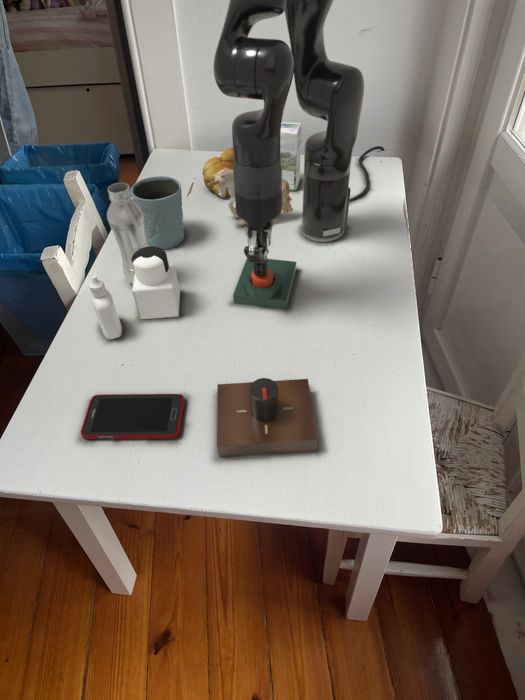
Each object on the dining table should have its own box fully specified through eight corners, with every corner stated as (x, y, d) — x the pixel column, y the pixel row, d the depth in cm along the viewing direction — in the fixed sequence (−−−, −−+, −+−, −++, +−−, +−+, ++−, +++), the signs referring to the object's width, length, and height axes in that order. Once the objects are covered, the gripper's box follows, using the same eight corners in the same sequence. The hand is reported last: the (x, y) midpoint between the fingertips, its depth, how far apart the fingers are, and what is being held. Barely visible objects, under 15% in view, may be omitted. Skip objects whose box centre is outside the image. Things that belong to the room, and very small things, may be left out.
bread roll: (239, 200, 117) (237, 168, 111) (199, 200, 118) (195, 169, 112) (243, 174, 126) (241, 144, 120) (206, 174, 126) (202, 144, 120)
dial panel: (307, 390, 77) (308, 377, 75) (316, 450, 69) (317, 438, 67) (219, 396, 77) (217, 383, 74) (218, 457, 69) (216, 445, 67)
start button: (254, 273, 92) (253, 266, 90) (275, 276, 91) (274, 268, 90) (249, 287, 89) (249, 279, 88) (270, 289, 88) (270, 282, 87)
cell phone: (179, 439, 71) (178, 435, 70) (80, 439, 72) (78, 436, 71) (185, 397, 76) (184, 393, 76) (93, 398, 77) (91, 394, 76)
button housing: (248, 265, 99) (247, 249, 96) (296, 270, 98) (296, 254, 95) (233, 305, 91) (231, 288, 88) (285, 311, 90) (285, 295, 87)
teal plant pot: (134, 245, 105) (120, 195, 97) (157, 221, 112) (147, 172, 103) (174, 255, 103) (165, 204, 94) (196, 229, 109) (189, 179, 100)
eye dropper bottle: (128, 319, 89) (112, 267, 81) (119, 341, 86) (100, 288, 77) (105, 318, 90) (86, 266, 81) (95, 339, 86) (74, 287, 77)
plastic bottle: (153, 292, 94) (129, 199, 80) (121, 288, 96) (92, 195, 81) (164, 271, 99) (144, 180, 84) (133, 268, 100) (107, 177, 85)
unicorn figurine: (204, 224, 110) (196, 168, 100) (281, 204, 115) (281, 149, 105) (214, 241, 106) (207, 184, 96) (294, 219, 111) (296, 163, 101)
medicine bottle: (143, 295, 94) (129, 243, 85) (180, 292, 94) (169, 240, 85) (140, 320, 89) (124, 267, 80) (179, 317, 89) (167, 264, 81)
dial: (249, 400, 72) (248, 378, 68) (276, 397, 72) (276, 375, 68) (252, 423, 69) (250, 400, 65) (280, 419, 70) (280, 397, 66)
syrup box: (300, 180, 123) (302, 121, 112) (296, 191, 119) (297, 132, 108) (278, 178, 124) (278, 120, 113) (273, 189, 120) (272, 130, 109)
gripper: (273, 209, 71) (274, 299, 84) (288, 167, 80) (287, 254, 92) (223, 204, 72) (232, 294, 85) (244, 164, 81) (249, 250, 94)
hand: (260, 273), depth 89 cm, fingers closed
